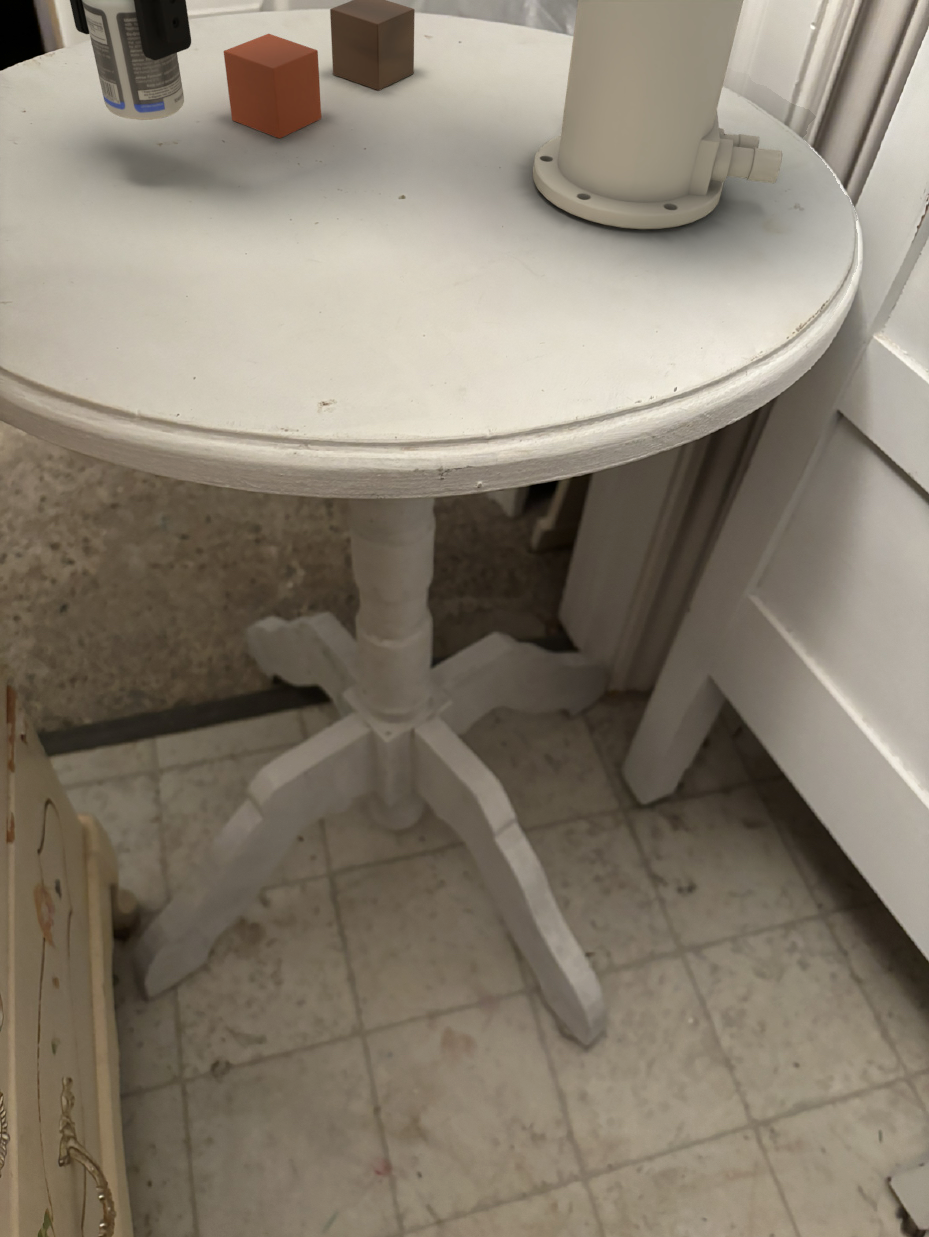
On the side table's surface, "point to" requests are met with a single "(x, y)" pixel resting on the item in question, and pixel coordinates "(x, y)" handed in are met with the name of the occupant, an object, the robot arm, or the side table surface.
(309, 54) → the terracotta block
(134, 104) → the pill bottle
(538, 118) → the side table surface
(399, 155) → the side table surface
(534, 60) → the side table surface
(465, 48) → the side table surface
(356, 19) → the walnut block
